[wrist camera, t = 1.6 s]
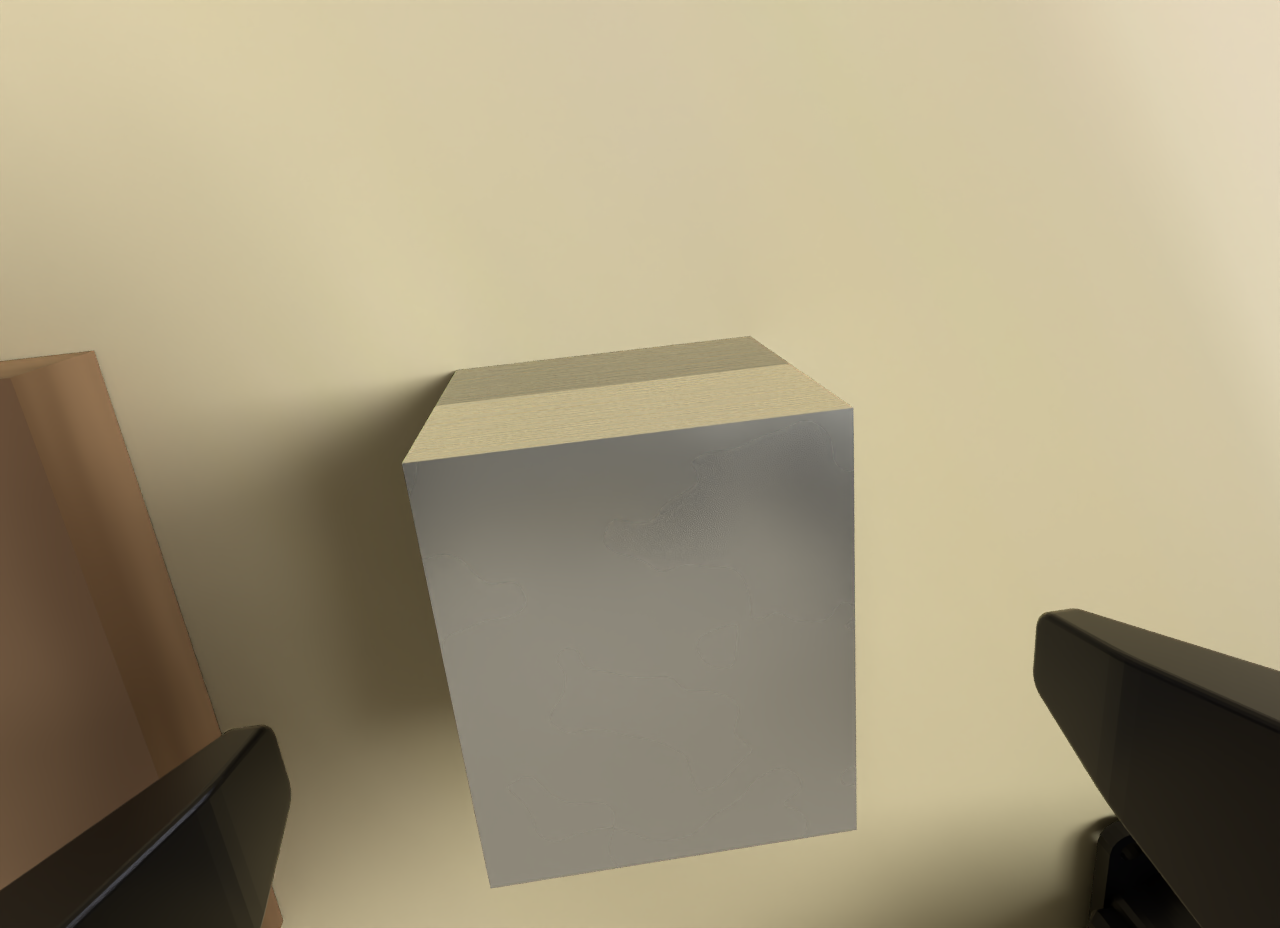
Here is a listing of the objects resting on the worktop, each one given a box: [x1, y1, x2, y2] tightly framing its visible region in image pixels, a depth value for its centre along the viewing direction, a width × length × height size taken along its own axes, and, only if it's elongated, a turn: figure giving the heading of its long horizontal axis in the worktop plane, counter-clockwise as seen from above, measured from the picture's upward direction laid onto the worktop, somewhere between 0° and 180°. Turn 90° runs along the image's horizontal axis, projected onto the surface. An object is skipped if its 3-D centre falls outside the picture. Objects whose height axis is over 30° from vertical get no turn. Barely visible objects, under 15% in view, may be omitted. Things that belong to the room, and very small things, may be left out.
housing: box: [402, 336, 857, 888], centre depth 12 cm, size 5×6×5 cm
